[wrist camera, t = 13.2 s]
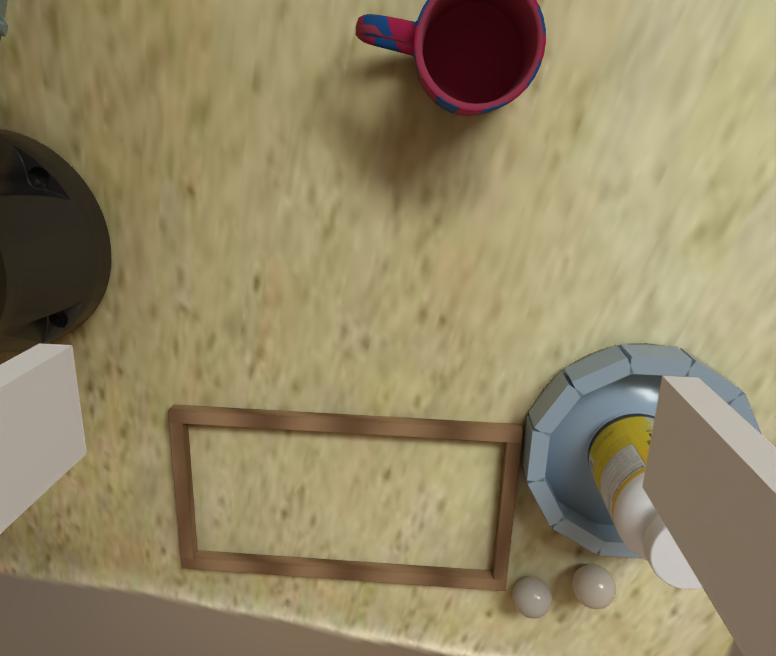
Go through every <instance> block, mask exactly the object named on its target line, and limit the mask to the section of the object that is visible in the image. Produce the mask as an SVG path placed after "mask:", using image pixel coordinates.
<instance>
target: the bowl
mask: <svg viewBox="0 0 776 656" xmlns="http://www.w3.org/2000/svg"><path fill="white" fill-rule="evenodd" d="M662 376H677V377H697V378H700V379H701V380H702V381H703V382H704V383H705V384H706V385H707V386H708V387H710V388H711V389H712V390H713V391H714V392H715V393H716V394H717V395H718V396H719V397H721V398H722V399H723V400H724V401H725V402H726V403H727V404H728V405H729V406H731V407H732V408H733V409H734V410H735V411H736V412H737V413H738V414H739V415H740V416H742V417H743V418H744V419H745V420H746V421H747V422H748V423H749V424H750V425H752V426H753V427H754V428H755V429H756V430H757V431H758V432H759V433H760V434H761V431H760V429H759V426H758V424H757V421H756V419H755V416H754V414H753V412H752V409H751V407H750V404H749V402H748V399H747V397H746V394H745V393H743V392H742V390H741V389H740V388H739V387H737V386H736V385H735V384H734V383H733V382H731V381H730V380H729V379H728V378H726V377H725V376H724V375H722V374H721V373H719V372H718V371H716V370H714V369H713V368H711V367H710V366H708V365H707V364H705V363H704V362H702V361H701V360H699V359H698V358H696V357H694V356H693V355H691V354H690V353H688V352H687V351H685V350H683V349H682V348H681V349H679V348H678V347H672V346H663V345H656V344H647V343H643V344H620V345H618V346H616V345H614V346H612V347H609V348H605V349H602V350H599V351H596V352H594V353H591V354H589V355H587V356H585V357H583V358H581V359H579V360H577V361H575V362H574V363H572V364H571V365H569V366H568V367H566V368H564V370H562V371H560V372H559V374H558V375H557V376H556V377H554V378H553V379H552V380H551V381H550V383H549V384H548V385H547V386H546V387H545V388H544V389H543V391H542V392H541V394H540V395H539V397H538V398H537V400H536V401H535V403H534V405H533V407H532V408H531V410H530V411H529V416H527V421H526V427H525V432H524V441H523V457H522V464H523V469H524V473H525V476H526V480H527V483H528V486H529V488H530V490H531V491H532V493H533V495H534V497H535V499H536V501H537V503H538V505H539V507H540V508H541V510H542V512H543V514H544V516H545V518H546V520H547V522H548V524H549V525H550V526H551V525H552V528H553V529H554V530H555V531H557V532H559V533H560V534H562V535H564V536H565V537H567V538H569V539H571V540H572V541H574V542H576V543H577V544H579V545H581V546H582V547H584V548H586V549H587V550H589V551H591V552H593V553H594V554H596V553H597V552H598V553H599V555H600V556H615V557H630V558H641V557H639V556H638V555H636V554H635V553H634V552H632V551H631V550H630V549H629V548H628V547H627V546H626V545H625V544H624V542H623V541H622V539H621V538H620V536H619V534H618V532H617V530H616V528H615V526H614V523H613V521H612V519H611V516H610V514H609V512H608V510H607V507H606V505H605V503H604V501H603V498H602V496H601V494H600V491H599V489H598V487H597V485H596V482H595V480H594V478H593V476H592V474H591V471H590V469H589V466H588V461H587V450H588V445H589V442H590V440H591V438H592V436H593V434H594V433H595V431H596V430H597V429H598V428H599V427H600V426H601V425H602V424H603V423H604V422H606V421H607V420H609V419H611V418H613V417H615V416H617V415H620V414H624V413H631V412H641V413H647V414H651V415H654V416H655V413H656V408H657V402H658V397H659V391H660V386H661V380H662ZM761 435H762V434H761Z"/></svg>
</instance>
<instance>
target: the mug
mask: <svg viewBox="0 0 776 656" xmlns="http://www.w3.org/2000/svg"><path fill="white" fill-rule="evenodd" d="M356 36H357V37H358V38H359V39H360V40H361V41H363V42H365V43H367V44H370V45H373V46H377V47H381V48H385V49H389V50H393V51H397V52H400V53H404V54H408V55H412V56H414V57H415V61H416V66H417V71H418V75H419V79H420V81H421V84H422V86H423V88H424V90H425V91H426V93H427V94H428V96H429V97H430V98H431V99H432V100H433V101H434V102H435V103H436V104H437V105H439V106H440V107H441V108H443V109H445V110H447V111H449V112H451V113H455V114H458V115H467V116H471V115H479V114H483V113H486V112H489V111H492V110H495V109H498V108H500V107H502V106H504V105H506V104H508V103H510V102H511V101H513V100H514V99H515V98H517V97H518V96H519V95H520V94H521V93H522V92H523V91H524V90H525V89H526V88H527V87H528V86H529V85H530V83H531V82H532V80H533V79H534V78H535V76H536V74H537V72H538V70H539V68H540V65H541V62H542V59H543V56H544V51H545V44H546V28H545V23H544V17H543V14H542V12H541V9H540V6H539V4H538V2H537V1H536V0H427V1H426V3H425V5H424V6H423V8H422V10H421V13H420V15H419V17H418V20H417V21H416V22H413V21H408V20H403V19H398V18H393V17H388V16H382V15H373V14H366V15H363V16H361V17H359V18H358V21H357V24H356Z"/></svg>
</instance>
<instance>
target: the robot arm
mask: <svg viewBox="0 0 776 656" xmlns="http://www.w3.org/2000/svg"><path fill="white" fill-rule="evenodd" d="M7 1H8V0H0V40H1V36H5V37H6V34H7V30H8V25H7V23H6V21H5V13H6V7H7ZM110 269H111V245H110V238H109V233H108V229H107V225H106V222H105V219H104V216H103V214H102V211H101V209H100V207H99V204H98V203H97V201H96V199H95V197H94V195H93V194H92V192H91V190H90V189H89V187H88V186H87V184H86V183H85V182H84V180H83V179H82V178H81V177H80V175H79V174H78V173H77V172H76V171H75V170H74V169H73V168H72V167H71V166H70V165H69V164H68V163H67V162H66V161H65V160H64V159H63V158H61V157H60V156H59V155H58V154H56V153H55V152H54V151H52V150H51V149H49V148H48V147H46V146H45V145H43V144H41V143H39V142H38V141H36V140H34V139H31V138H29V137H27V136H24V135H22V134H19V133H16V132H12V131H8V130H4V129H0V353H1V352H17V351H25V350H27V351H25V352H23V353H21V354H19V355H17V356H15V357H14V358H12V359H10V360H8V361H6V362H4V363H2V364H1V365H0V534H1V533H2V532H3V531H4V530H5V529H6V528H7V527H8V526H9V525H10V524H11V523H12V522H14V521H15V520H16V519H17V518H18V517H19V516H20V515H21V514H22V513H23V512H24V511H25V510H26V509H27V508H29V507H30V506H31V505H32V504H33V503H34V502H35V501H36V500H37V499H38V498H39V497H40V496H41V495H42V494H44V493H45V492H46V491H47V490H48V489H49V488H50V487H51V486H52V485H53V484H54V483H55V482H56V481H58V480H59V479H60V478H61V477H62V476H63V475H64V474H65V473H66V472H67V471H68V470H69V469H70V468H71V467H73V466H74V465H75V464H76V463H77V462H78V461H79V460H80V459H81V458H82V457H83V456H84V455H85V454H86V453H87V452H86V444H85V437H84V429H83V422H82V414H81V407H80V399H79V392H78V384H77V377H76V370H75V362H74V355H73V347H72V345H59V344H48V343H50V342H52V341H54V340H56V339H58V338H60V337H62V336H64V335H65V334H67V333H69V332H71V331H72V330H74V329H76V328H77V327H78V326H80V325H81V324H82V323H83V322H84V321H86V320H87V319H88V318H89V316H90V315H91V314H92V313H93V312H94V310H95V309H96V308H97V306H98V304H99V303H100V301H101V299H102V297H103V295H104V292H105V290H106V287H107V284H108V280H109V275H110ZM642 488H643V489H644V491H645V493H646V494H647V496H648V498H649V499H650V501H651V503H652V504H653V506H654V508H655V509H656V511H657V513H658V514H659V516H660V518H661V519H662V521H663V522H664V524H665V526H666V527H667V529H668V531H669V532H670V534H671V536H672V537H673V539H674V541H675V542H676V544H677V546H678V547H679V549H680V551H681V552H682V554H683V556H684V557H685V559H686V561H687V562H688V564H689V566H690V567H691V569H692V571H693V572H694V574H695V576H696V577H697V579H698V581H699V582H700V584H701V586H702V587H703V589H704V591H705V592H706V594H707V595H708V597H709V599H710V600H711V602H712V604H713V605H714V607H715V609H716V610H717V612H718V614H719V615H720V617H721V619H722V620H723V622H724V624H725V625H726V627H727V629H728V630H729V632H730V634H731V635H732V637H733V639H734V640H735V642H736V644H737V645H738V647H739V649H740V650H741V652H742V653H743V655H744V656H776V447H775V446H774V445H773V444H771V443H770V442H769V441H768V440H767V439H766V438H765V437H764V436H763V435H761V434H760V433H759V432H758V431H757V430H756V429H755V428H754V427H753V426H752V425H750V424H749V423H748V422H747V421H746V420H745V419H744V418H743V417H742V416H740V415H739V414H738V413H737V412H736V411H735V410H734V409H733V408H732V407H731V406H729V405H728V404H727V403H726V402H725V401H724V400H723V399H722V398H721V397H719V396H718V395H717V394H716V393H715V392H714V391H713V390H712V389H711V388H710V387H708V386H707V385H706V384H705V383H704V382H703V381H702V380H701V379H700V378H697V377H677V376H662V380H661V386H660V391H659V397H658V402H657V408H656V413H655V419H654V424H653V430H652V436H651V441H650V447H649V452H648V458H647V463H646V469H645V474H644V480H643V485H642Z"/></svg>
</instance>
